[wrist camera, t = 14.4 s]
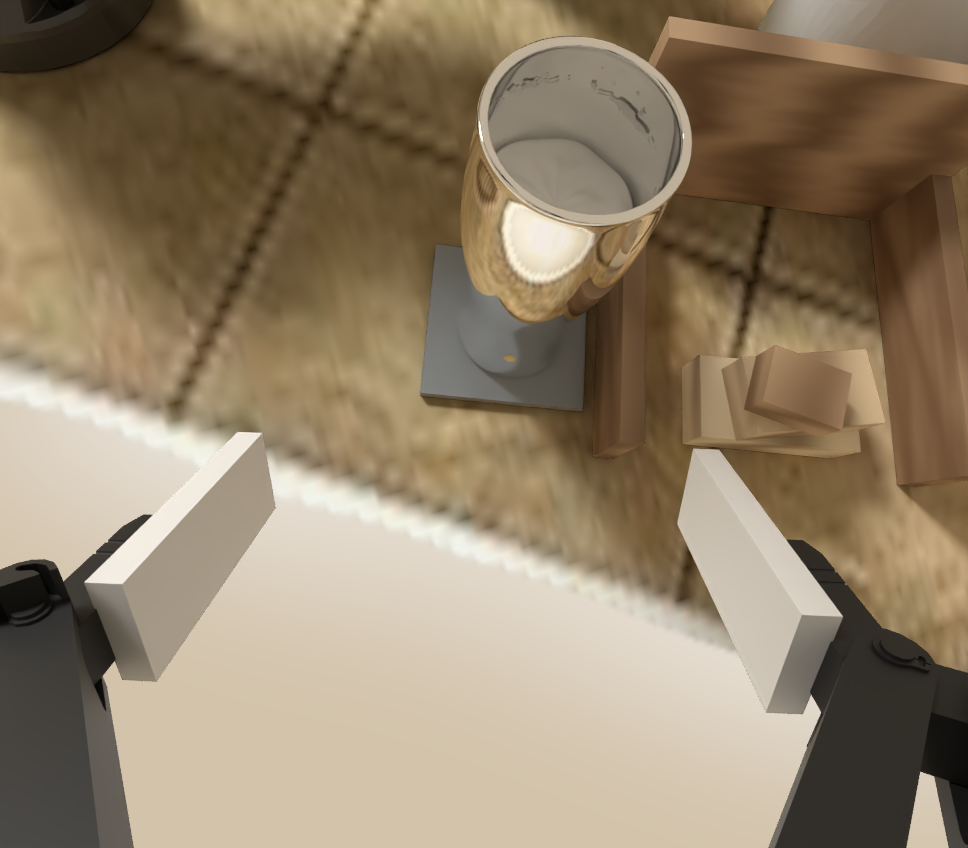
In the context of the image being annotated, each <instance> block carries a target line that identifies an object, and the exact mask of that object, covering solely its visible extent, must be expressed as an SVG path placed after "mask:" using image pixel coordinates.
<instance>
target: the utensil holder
mask: <svg viewBox="0 0 968 848" xmlns="http://www.w3.org/2000/svg"><path fill="white" fill-rule="evenodd" d="M757 31H763V32H769V33H776V34H782V35H788V36H794V37H800V38H806V39H812V40H818V41H825V42H831V43H837V44H843V45H849V46H855V47H861V48H868V49H874V50H880V51H886V52H892V53H898V54H904V55H910V56H917V57H923V58H929V59H935V60H941V61H947V62H953V63H960V64H966V65H968V0H774V1H773V3H772V4H771V6H770V8H769V10H768V11H767V13H766V15H765V17H764V18H763V20H762V22H761V24H760V26H759V28H758V29H757Z"/></svg>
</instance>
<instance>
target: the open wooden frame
mask: <svg viewBox="0 0 968 848" xmlns="http://www.w3.org/2000/svg"><path fill="white" fill-rule="evenodd" d="M649 63H650V64H651V65H652V66H654V67H655V68H656V69H657V70H658V71H659V72H660V73H661V74H662V75H663V76H664V77H665V78H666V79H667V80H668V81H669V83H670V84H671V85H672V86H673V88H674V89H675V91H676V92H677V94H678V95H679V97H680V99H681V101H682V103H683V105H684V107H685V109H686V112H687V115H688V118H689V122H690V126H691V132H692V154H691V160H690V164H689V167H688V170H687V173H686V175H685V177H684V179H683V181H682V183H681V184H680V186H679V187H678V189H677V190H676V192H675V193H674V194H681V195H688V196H696V197H703V198H710V199H718V200H725V201H732V202H740V203H747V204H755V205H762V206H769V207H777V208H784V209H792V210H799V211H806V212H814V213H821V214H829V215H836V216H843V217H851V218H858V219H865V220H870V228H871V238H872V247H873V257H874V266H875V276H876V285H877V295H878V304H879V314H880V324H881V333H882V343H883V352H884V362H885V371H886V381H887V391H888V400H889V410H890V419H891V429H892V438H893V448H894V458H895V467H896V477H897V485H904V486H915V487H918V486H926V485H934V484H942V483H950V482H958V481H966V480H968V288H967V281H966V274H965V268H964V261H963V254H962V247H961V241H960V234H959V227H958V220H957V213H956V207H955V200H954V193H953V186H952V180H951V176H953V175H954V174H955V173H957V172H958V171H960V170H961V169H962V168H964V167H965V166H967V165H968V65H966V64H960V63H953V62H947V61H941V60H935V59H929V58H923V57H917V56H910V55H904V54H898V53H892V52H886V51H880V50H874V49H868V48H861V47H855V46H849V45H843V44H837V43H831V42H825V41H818V40H812V39H806V38H800V37H794V36H788V35H782V34H776V33H769V32H763V31H757V30H751V29H745V28H739V27H733V26H726V25H720V24H714V23H708V22H702V21H696V20H690V19H683V18H677V17H671V16H669V18H668V20H667V22H666V24H665V26H664V29H663V31H662V33H661V35H660V37H659V40H658V42H657V44H656V46H655V48H654V51H653V53H652V55H651V57H650V60H649ZM645 400H646V244H645V246H644V247H643V249H642V250H641V252H640V253H639V255H638V257H637V258H636V260H635V261H634V263H633V264H632V265H631V267H630V268H629V269H628V270H627V272H626V273H625V274H624V275H623V277H622V278H621V279H620V280H619V282H618V283H617V284H616V285H615V286H614V288H613V289H612V290H610V291H609V292H608V293H607V294H606V295H605V296H604V297H603V298H602V299H601V300H600V301H599V302H598V303H597V317H596V352H595V388H594V424H593V457H603V458H613V459H614V458H616V457H618V456H620V455H622V454H624V453H626V452H628V451H630V450H632V449H634V448H636V447H639V446H641V445H643V444H645Z"/></svg>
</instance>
